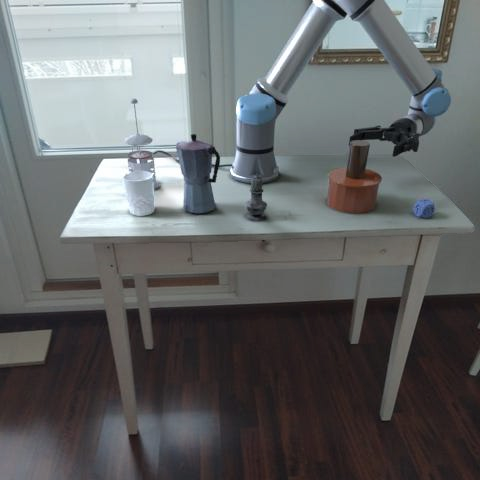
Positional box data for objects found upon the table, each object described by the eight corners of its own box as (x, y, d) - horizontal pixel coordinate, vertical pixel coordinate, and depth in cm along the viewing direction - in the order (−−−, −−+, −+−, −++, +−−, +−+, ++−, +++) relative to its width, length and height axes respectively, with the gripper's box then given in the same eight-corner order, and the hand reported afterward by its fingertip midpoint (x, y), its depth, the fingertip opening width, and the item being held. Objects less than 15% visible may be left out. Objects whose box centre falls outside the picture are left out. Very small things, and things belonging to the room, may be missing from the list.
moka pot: (191, 196, 142) (187, 126, 130) (233, 209, 135) (232, 136, 123) (169, 207, 136) (162, 134, 124) (211, 221, 129) (209, 145, 117)
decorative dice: (412, 213, 134) (415, 199, 131) (424, 211, 135) (428, 197, 132) (420, 219, 131) (423, 205, 128) (433, 217, 131) (436, 203, 129)
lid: (318, 181, 134) (322, 143, 128) (345, 167, 143) (349, 131, 137) (364, 194, 126) (371, 155, 120) (390, 179, 135) (397, 142, 129)
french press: (132, 193, 143) (120, 104, 128) (123, 180, 152) (110, 95, 137) (163, 188, 147) (155, 100, 132) (153, 176, 155) (144, 92, 140)
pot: (317, 204, 138) (320, 178, 134) (342, 190, 146) (345, 166, 142) (360, 217, 131) (364, 191, 127) (383, 202, 139) (388, 177, 135)
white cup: (131, 205, 137) (126, 170, 131) (158, 205, 137) (155, 170, 131) (125, 216, 130) (119, 180, 125) (154, 217, 130) (150, 181, 124)
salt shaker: (264, 222, 128) (266, 178, 121) (243, 220, 129) (243, 176, 122) (268, 213, 133) (270, 170, 126) (247, 211, 134) (248, 168, 127)
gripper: (441, 151, 143) (411, 169, 130) (366, 135, 156) (331, 150, 143) (448, 124, 139) (417, 141, 126) (370, 110, 152) (335, 124, 139)
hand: (371, 146), depth 134 cm, fingers open, 13 cm apart
